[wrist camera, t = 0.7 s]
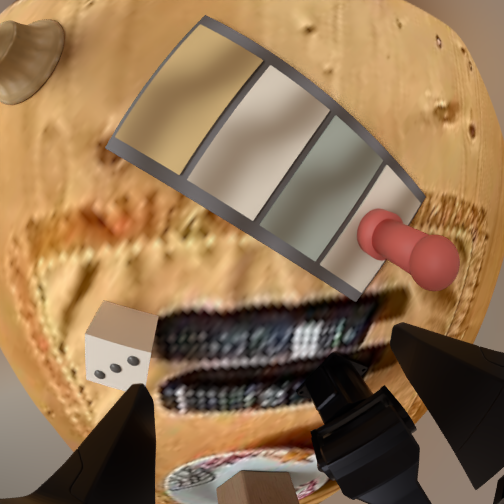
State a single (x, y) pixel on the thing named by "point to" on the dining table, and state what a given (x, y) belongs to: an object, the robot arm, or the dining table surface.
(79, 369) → the dining table surface
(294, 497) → the wooden block
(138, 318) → the die
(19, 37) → the hand bell
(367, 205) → the board
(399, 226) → the pawn
